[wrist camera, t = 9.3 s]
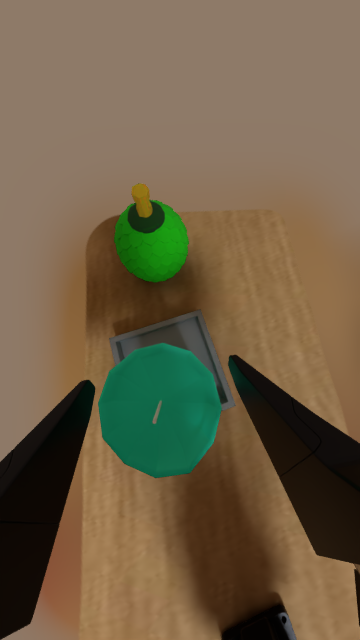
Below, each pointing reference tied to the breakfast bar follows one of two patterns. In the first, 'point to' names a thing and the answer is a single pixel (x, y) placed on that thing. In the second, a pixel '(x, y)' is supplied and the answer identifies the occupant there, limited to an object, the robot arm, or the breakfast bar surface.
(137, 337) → the tray
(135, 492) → the breakfast bar surface
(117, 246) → the ornament
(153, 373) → the candle
